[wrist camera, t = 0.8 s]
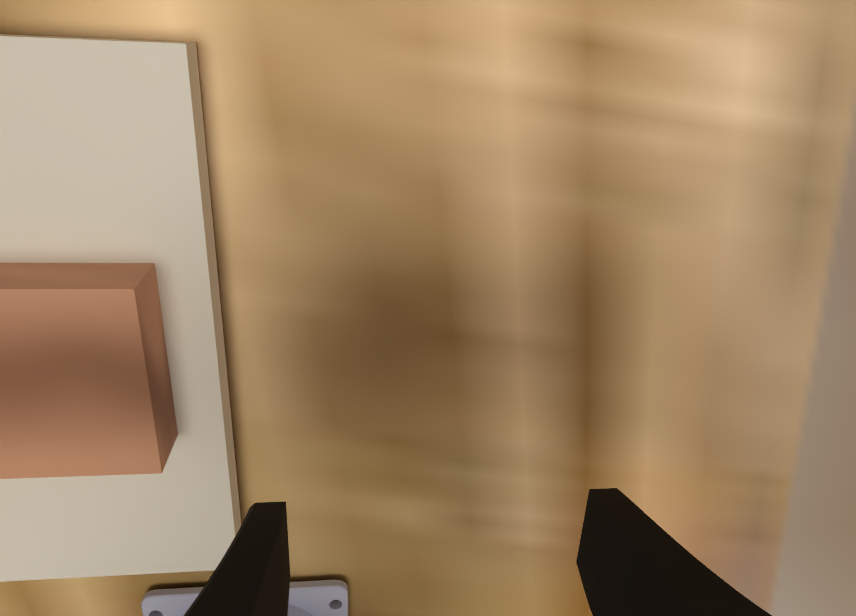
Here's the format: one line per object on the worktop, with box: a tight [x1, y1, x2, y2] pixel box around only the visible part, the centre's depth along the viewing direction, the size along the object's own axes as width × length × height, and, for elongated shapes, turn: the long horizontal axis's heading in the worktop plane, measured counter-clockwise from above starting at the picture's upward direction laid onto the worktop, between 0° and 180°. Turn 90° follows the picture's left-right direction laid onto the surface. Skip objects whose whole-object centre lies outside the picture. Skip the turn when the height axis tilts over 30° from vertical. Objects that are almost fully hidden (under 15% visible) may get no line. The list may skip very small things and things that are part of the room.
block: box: [0, 263, 178, 479], centre depth 19 cm, size 6×8×2 cm
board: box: [0, 34, 241, 582], centre depth 20 cm, size 18×13×1 cm
